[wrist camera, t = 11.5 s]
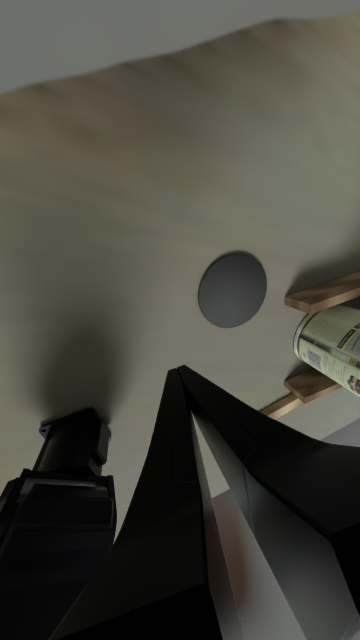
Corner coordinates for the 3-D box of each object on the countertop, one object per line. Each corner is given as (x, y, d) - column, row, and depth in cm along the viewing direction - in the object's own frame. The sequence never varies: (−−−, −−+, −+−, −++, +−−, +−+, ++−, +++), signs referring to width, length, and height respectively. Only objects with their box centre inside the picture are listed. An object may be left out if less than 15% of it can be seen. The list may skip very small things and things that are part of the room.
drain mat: (205, 335, 24) (206, 337, 24) (191, 266, 20) (192, 266, 20) (265, 314, 25) (268, 315, 25) (263, 245, 22) (265, 245, 21)
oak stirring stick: (228, 435, 34) (233, 443, 32) (225, 428, 33) (230, 437, 31) (294, 397, 34) (301, 404, 33) (293, 390, 34) (300, 397, 32)
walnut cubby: (284, 385, 32) (304, 403, 28) (284, 296, 25) (311, 304, 21) (356, 356, 34) (383, 368, 30) (374, 266, 27) (411, 269, 24)
